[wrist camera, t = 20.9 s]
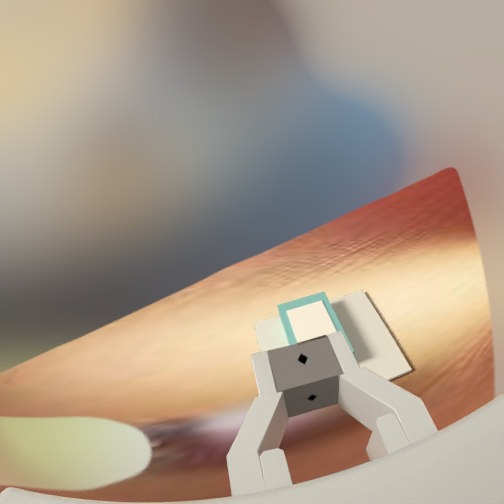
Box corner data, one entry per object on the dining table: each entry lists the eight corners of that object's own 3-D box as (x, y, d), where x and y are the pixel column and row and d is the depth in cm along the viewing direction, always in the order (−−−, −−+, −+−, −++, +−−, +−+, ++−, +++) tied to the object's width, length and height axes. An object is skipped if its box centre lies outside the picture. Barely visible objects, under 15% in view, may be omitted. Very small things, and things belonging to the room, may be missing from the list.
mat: (276, 418, 29) (275, 416, 29) (254, 324, 41) (253, 322, 41) (411, 371, 30) (411, 369, 29) (362, 292, 41) (362, 289, 41)
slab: (298, 368, 31) (277, 304, 39) (300, 382, 32) (280, 319, 40) (354, 350, 31) (323, 290, 39) (353, 364, 32) (325, 305, 40)
